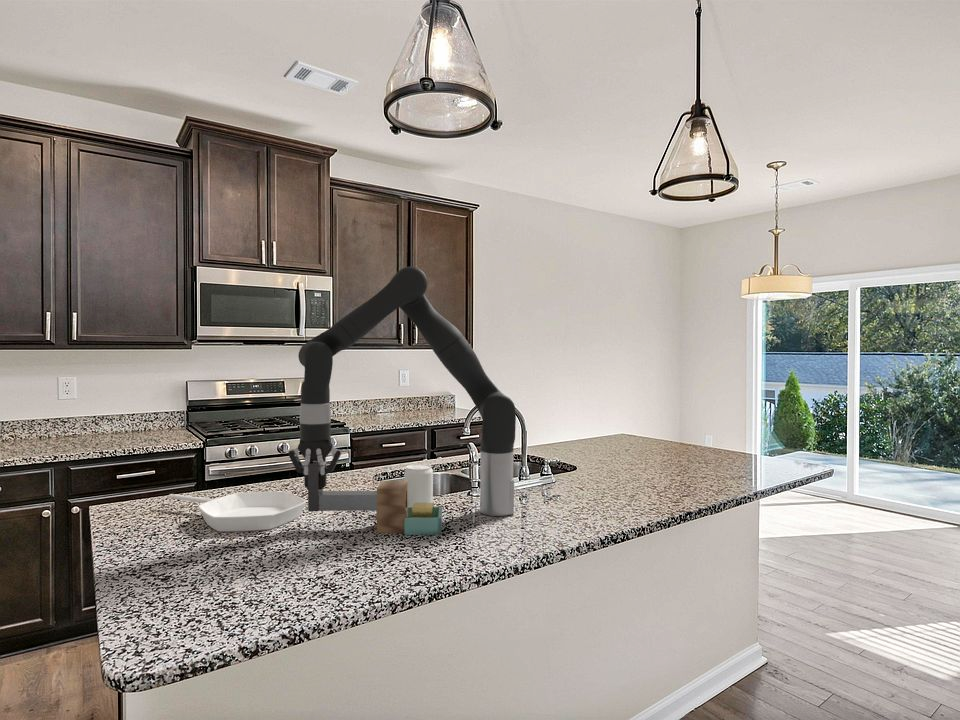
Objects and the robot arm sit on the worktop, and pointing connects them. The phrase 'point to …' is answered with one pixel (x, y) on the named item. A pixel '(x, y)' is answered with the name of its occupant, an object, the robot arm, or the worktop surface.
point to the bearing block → (392, 506)
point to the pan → (248, 510)
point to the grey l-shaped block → (336, 496)
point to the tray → (424, 523)
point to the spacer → (423, 510)
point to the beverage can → (419, 483)
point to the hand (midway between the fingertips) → (315, 488)
